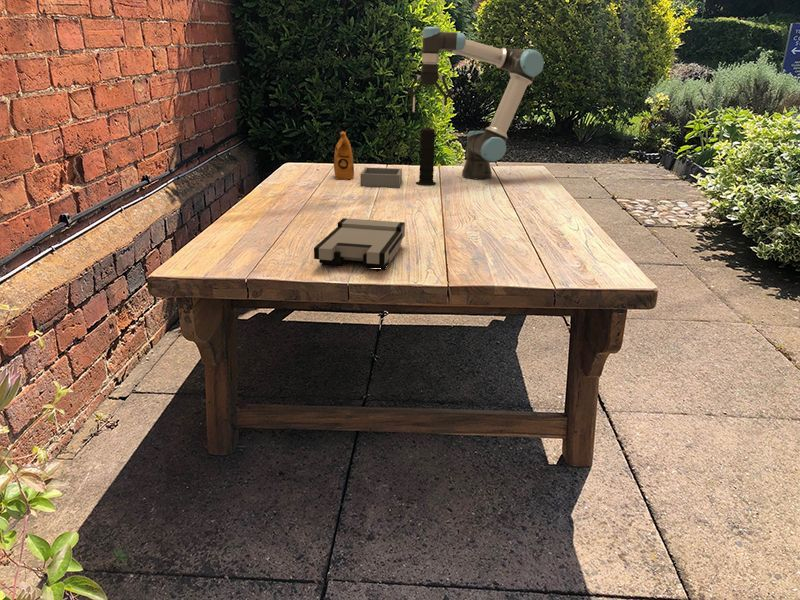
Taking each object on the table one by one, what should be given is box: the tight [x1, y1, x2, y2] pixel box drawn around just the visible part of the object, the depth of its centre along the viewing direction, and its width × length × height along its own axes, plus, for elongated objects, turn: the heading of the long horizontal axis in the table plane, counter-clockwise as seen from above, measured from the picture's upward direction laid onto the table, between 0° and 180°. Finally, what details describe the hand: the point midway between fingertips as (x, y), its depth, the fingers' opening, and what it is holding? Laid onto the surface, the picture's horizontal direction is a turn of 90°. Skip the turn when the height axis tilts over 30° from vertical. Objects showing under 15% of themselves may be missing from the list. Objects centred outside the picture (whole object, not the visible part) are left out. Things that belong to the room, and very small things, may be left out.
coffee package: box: [333, 130, 355, 180], centre depth 330 cm, size 10×12×22 cm
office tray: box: [313, 217, 406, 270], centre depth 208 cm, size 21×32×8 cm, turn 169°
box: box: [359, 167, 403, 189], centre depth 321 cm, size 18×18×6 cm
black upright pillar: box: [415, 126, 437, 187], centre depth 319 cm, size 10×26×10 cm
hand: (428, 112), depth 312 cm, fingers open, 13 cm apart
